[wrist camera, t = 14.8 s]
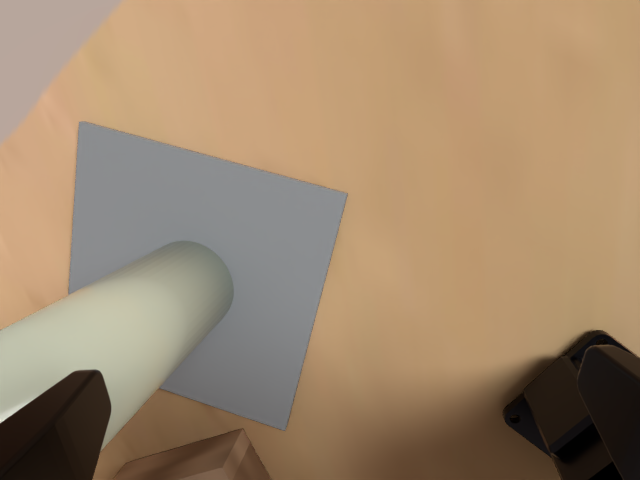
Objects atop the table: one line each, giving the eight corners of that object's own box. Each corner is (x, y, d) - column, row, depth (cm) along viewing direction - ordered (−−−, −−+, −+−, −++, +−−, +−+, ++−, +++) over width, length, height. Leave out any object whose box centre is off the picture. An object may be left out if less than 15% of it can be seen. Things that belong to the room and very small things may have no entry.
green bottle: (245, 320, 23) (29, 592, 10) (164, 334, 24) (-126, 594, 11) (216, 231, 22) (-72, 400, 9) (133, 251, 23) (-231, 426, 10)
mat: (347, 193, 21) (346, 194, 20) (286, 426, 25) (285, 431, 24) (84, 121, 22) (79, 121, 22) (69, 352, 26) (64, 356, 26)
